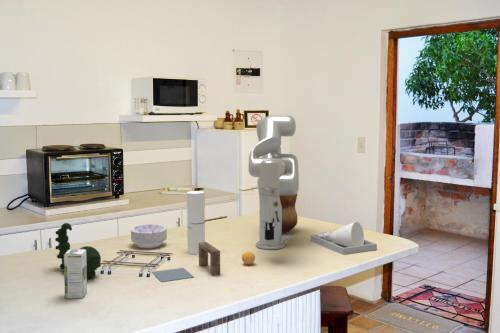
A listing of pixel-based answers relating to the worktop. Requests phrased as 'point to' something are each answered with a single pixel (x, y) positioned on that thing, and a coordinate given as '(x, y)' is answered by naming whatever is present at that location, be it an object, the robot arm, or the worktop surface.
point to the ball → (248, 257)
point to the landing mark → (172, 274)
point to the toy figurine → (91, 253)
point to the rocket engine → (346, 235)
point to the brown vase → (288, 212)
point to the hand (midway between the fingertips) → (269, 239)
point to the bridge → (214, 257)
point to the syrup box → (75, 273)
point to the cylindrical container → (195, 220)
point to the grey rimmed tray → (348, 250)
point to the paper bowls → (148, 235)
